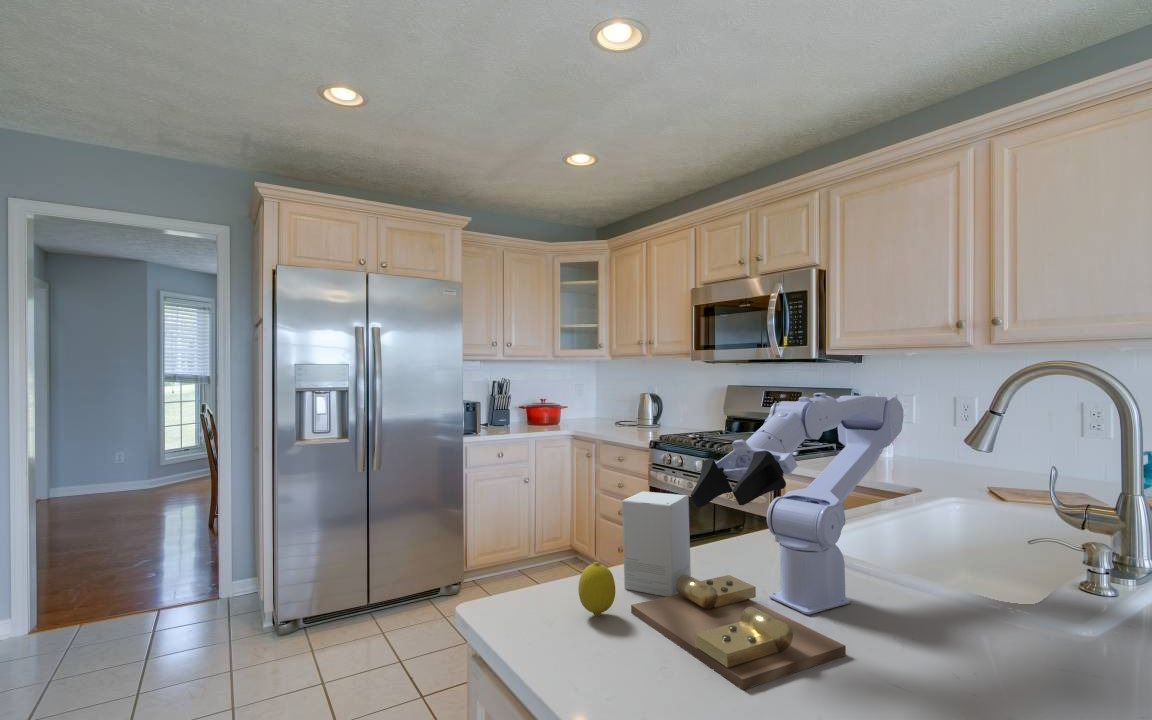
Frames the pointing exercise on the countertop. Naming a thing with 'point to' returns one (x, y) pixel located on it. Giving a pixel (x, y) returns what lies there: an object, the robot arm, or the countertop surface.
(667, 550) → the supplement box
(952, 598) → the countertop surface
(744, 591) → the fixed leaf
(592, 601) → the lemon
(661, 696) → the countertop surface
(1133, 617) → the countertop surface
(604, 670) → the countertop surface
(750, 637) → the plate
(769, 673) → the walnut board
